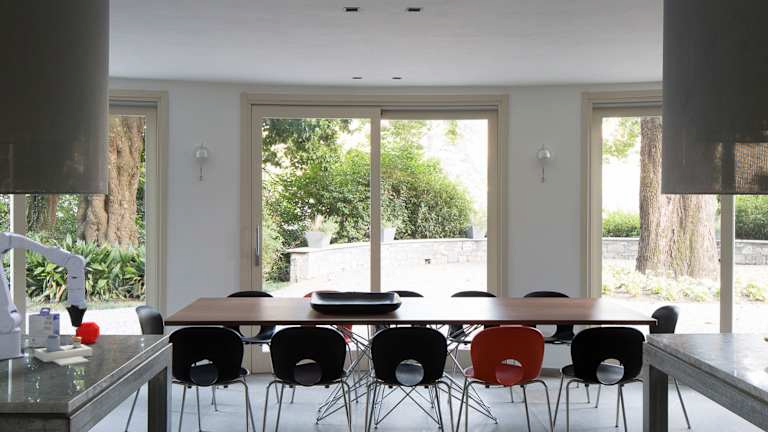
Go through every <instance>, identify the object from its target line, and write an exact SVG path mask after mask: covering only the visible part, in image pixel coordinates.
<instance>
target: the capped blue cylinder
mask: <svg viewBox="0 0 768 432" xmlns="http://www.w3.org/2000/svg"><path fill="white" fill-rule="evenodd" d="M60 346H61V336H60V337H58V335H48V337H47V338H46V347H45V348H46V353H49V352H57V351H60Z"/></svg>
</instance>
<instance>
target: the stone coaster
mask: <svg viewBox="0 0 768 432" xmlns="http://www.w3.org/2000/svg"><path fill="white" fill-rule="evenodd" d="M89 361H90V360H89V359H87V358H85V357H81V356H77V357H70V358H62V359H54V360H53V361H52V362H53V363H55V364H56V365H59V366H62V367H64V366H71V365H77V364H83V363H84V364H85V363H89Z"/></svg>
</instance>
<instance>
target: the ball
mask: <svg viewBox="0 0 768 432" xmlns="http://www.w3.org/2000/svg"><path fill="white" fill-rule="evenodd" d="M100 330H101V329H100V326H99V325H98V324H97V323H96V322H94V321H84V322H83V321H82V325H81V327H76V328H75V337H82V340H81V343H83V344H93V343H94V342H95V341H96V340H97V339H98V338H99V337H100V336H101V333H100Z"/></svg>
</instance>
